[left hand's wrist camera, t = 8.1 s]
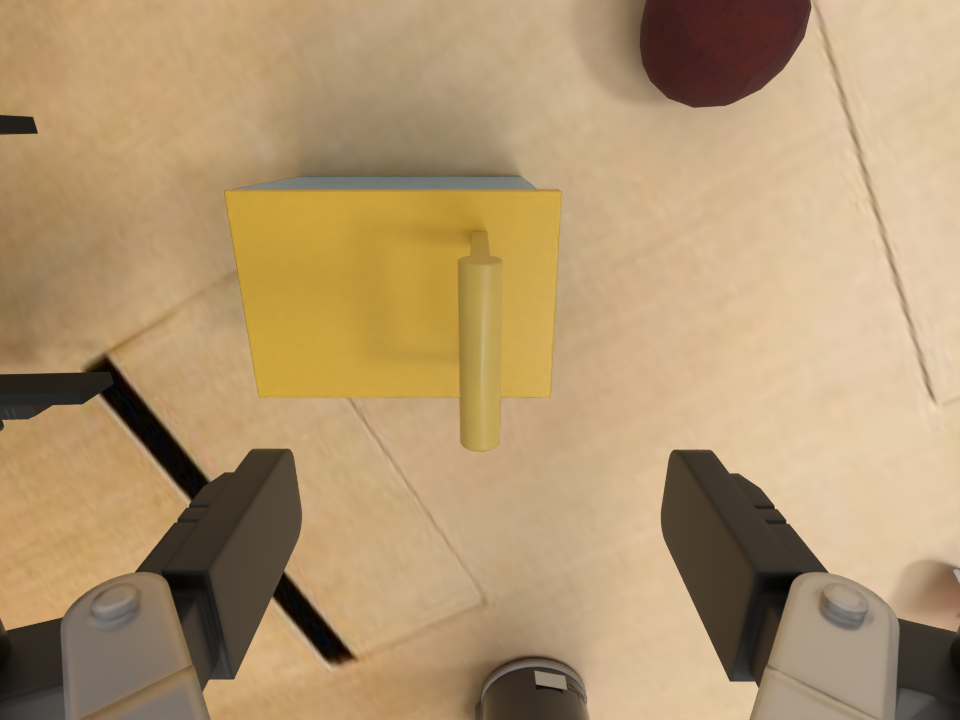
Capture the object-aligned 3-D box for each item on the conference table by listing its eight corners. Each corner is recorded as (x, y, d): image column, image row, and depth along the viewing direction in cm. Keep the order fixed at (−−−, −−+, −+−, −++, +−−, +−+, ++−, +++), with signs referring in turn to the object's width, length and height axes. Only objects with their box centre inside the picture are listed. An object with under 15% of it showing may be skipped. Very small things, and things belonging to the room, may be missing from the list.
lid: (559, 189, 24) (598, 211, 16) (548, 390, 28) (576, 489, 20) (231, 188, 24) (111, 211, 16) (264, 390, 28) (179, 489, 20)
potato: (684, -78, 28) (746, -144, 21) (792, 19, 30) (881, -16, 23) (596, 58, 30) (628, 35, 24) (701, 140, 32) (757, 140, 25)
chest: (522, 176, 33) (538, 188, 24) (518, 330, 36) (530, 390, 28) (298, 176, 33) (232, 189, 24) (316, 330, 36) (264, 390, 28)
